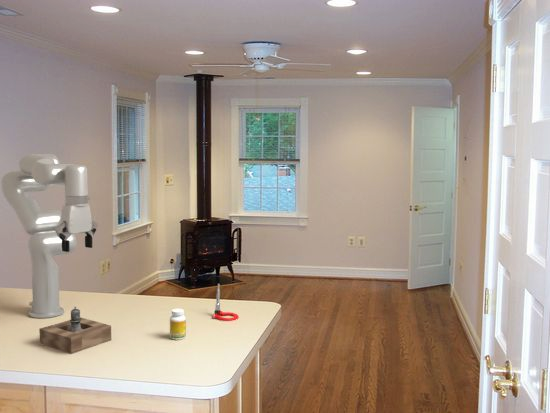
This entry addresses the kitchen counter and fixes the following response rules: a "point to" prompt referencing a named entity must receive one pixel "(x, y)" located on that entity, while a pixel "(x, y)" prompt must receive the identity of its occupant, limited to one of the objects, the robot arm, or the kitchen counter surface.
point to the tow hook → (218, 312)
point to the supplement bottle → (177, 324)
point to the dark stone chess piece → (75, 321)
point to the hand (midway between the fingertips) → (77, 249)
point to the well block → (75, 335)
